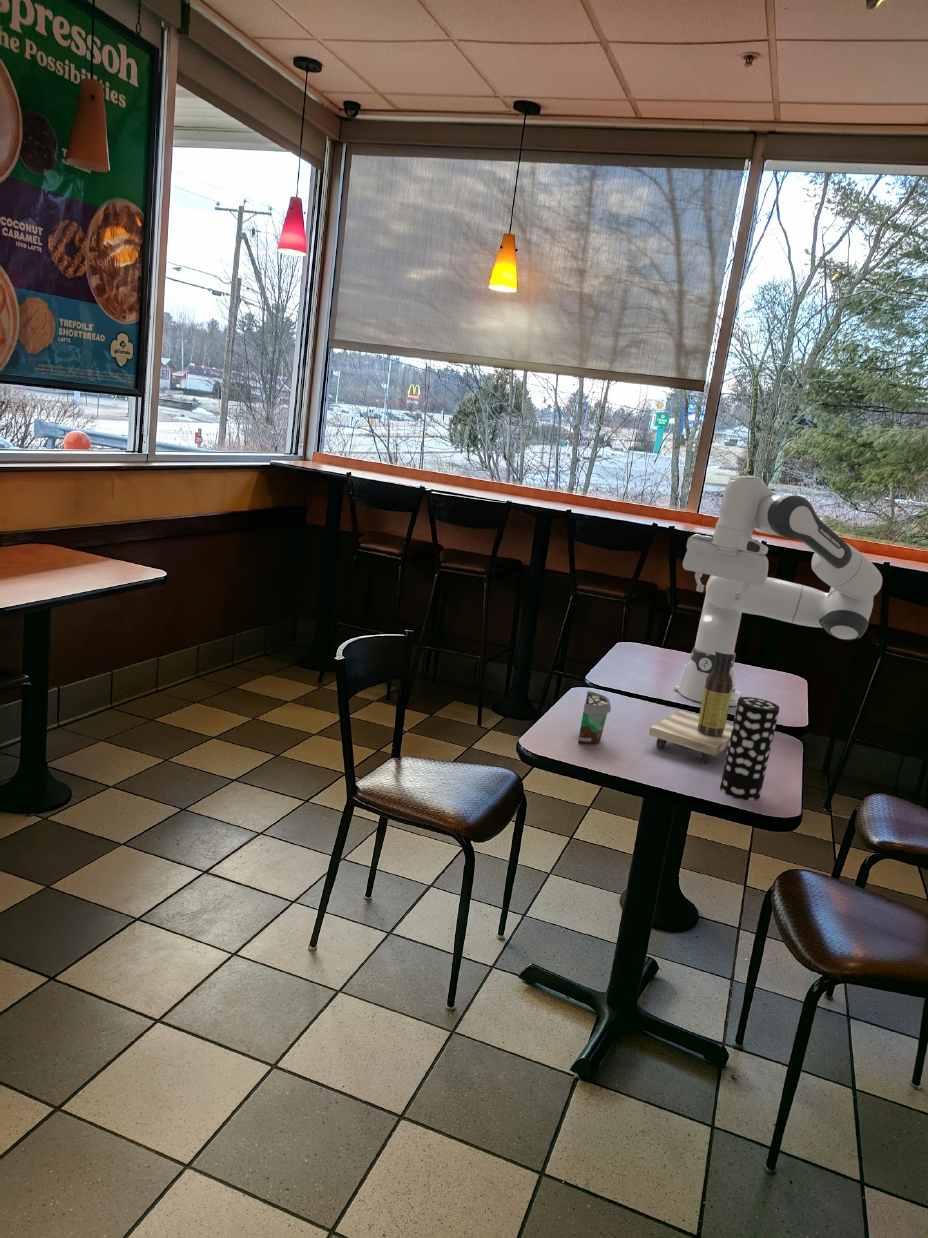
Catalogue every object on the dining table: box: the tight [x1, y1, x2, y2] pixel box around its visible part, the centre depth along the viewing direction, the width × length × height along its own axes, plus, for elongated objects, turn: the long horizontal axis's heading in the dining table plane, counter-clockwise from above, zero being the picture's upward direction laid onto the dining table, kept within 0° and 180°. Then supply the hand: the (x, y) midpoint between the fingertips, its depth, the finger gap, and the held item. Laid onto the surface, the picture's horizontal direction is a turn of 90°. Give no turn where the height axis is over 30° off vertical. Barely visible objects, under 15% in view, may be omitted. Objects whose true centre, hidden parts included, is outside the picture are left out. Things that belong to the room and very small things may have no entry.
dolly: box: [648, 710, 733, 764], centre depth 209 cm, size 20×16×5 cm
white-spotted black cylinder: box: [719, 696, 780, 802], centre depth 182 cm, size 8×8×20 cm
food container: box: [577, 690, 612, 746], centre depth 204 cm, size 12×6×10 cm, turn 168°
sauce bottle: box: [698, 650, 733, 736], centre depth 204 cm, size 6×6×20 cm
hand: (718, 595), depth 214 cm, fingers open, 8 cm apart
